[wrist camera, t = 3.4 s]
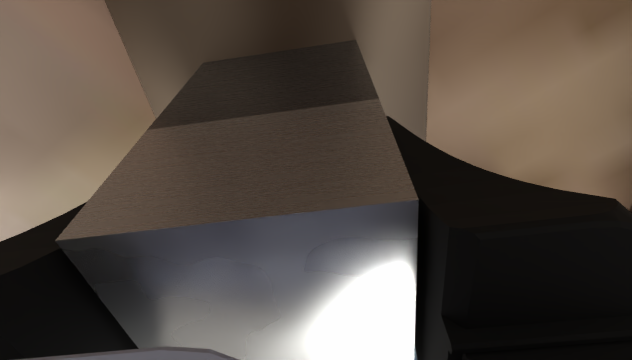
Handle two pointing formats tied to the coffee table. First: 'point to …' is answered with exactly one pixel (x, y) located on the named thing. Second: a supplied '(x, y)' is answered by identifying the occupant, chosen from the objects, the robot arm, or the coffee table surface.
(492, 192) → the robot arm
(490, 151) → the coffee table surface
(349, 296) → the grey rectangular block
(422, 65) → the base
